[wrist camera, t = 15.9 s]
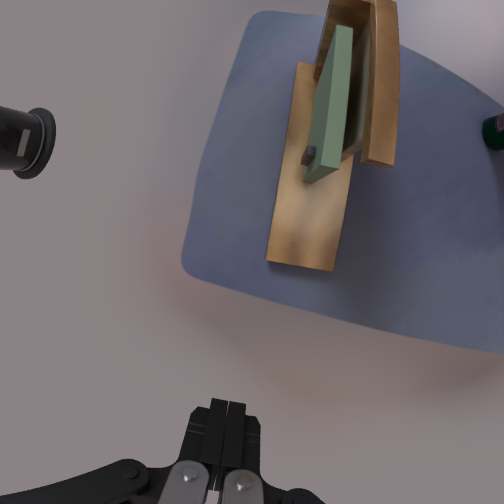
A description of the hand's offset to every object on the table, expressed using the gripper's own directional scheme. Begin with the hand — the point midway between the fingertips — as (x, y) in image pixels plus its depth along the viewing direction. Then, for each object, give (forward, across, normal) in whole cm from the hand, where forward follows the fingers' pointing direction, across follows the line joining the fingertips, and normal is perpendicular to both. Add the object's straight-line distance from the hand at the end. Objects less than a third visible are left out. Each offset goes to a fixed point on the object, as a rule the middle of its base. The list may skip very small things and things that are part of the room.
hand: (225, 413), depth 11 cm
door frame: (+25, -6, -13) cm, 29 cm away
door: (+23, -4, -16) cm, 29 cm away
